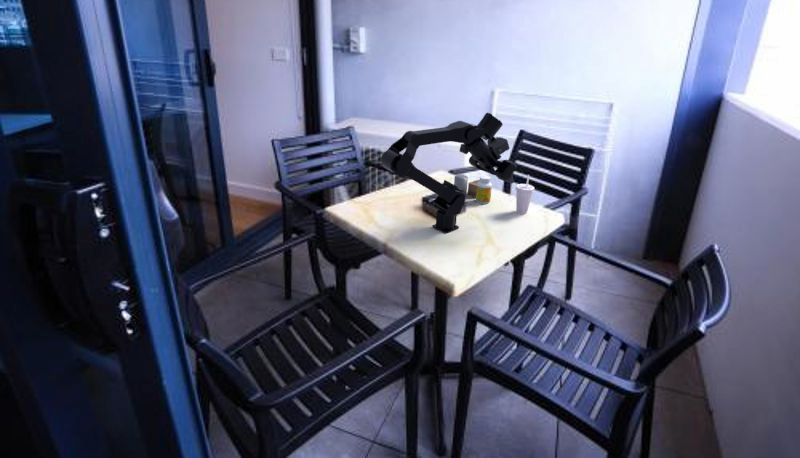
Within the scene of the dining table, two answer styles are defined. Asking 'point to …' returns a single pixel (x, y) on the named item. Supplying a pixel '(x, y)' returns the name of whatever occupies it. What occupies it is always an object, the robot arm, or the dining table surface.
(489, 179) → the supplement bottle
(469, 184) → the walnut block
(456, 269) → the dining table surface
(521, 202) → the smoothie
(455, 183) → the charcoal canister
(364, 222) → the dining table surface
